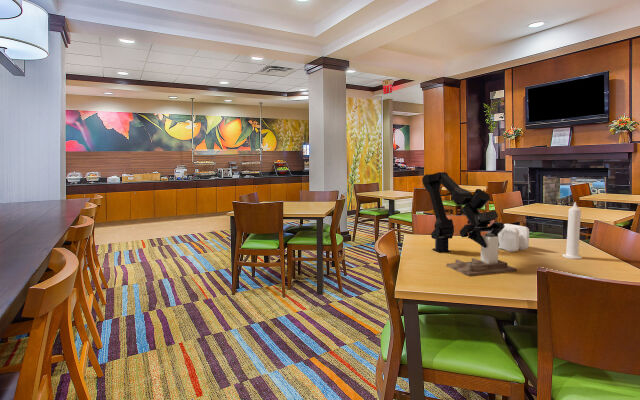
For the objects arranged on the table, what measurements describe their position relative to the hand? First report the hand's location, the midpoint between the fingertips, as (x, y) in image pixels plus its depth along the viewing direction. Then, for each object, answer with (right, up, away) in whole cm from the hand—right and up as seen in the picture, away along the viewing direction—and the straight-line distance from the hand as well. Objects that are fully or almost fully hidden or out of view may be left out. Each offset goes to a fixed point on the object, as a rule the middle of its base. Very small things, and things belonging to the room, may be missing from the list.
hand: (492, 246), depth 146 cm
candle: (+44, -7, +18) cm, 48 cm away
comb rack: (-4, -9, +1) cm, 10 cm away
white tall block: (0, -8, +2) cm, 8 cm away
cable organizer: (+25, -6, +34) cm, 43 cm away
